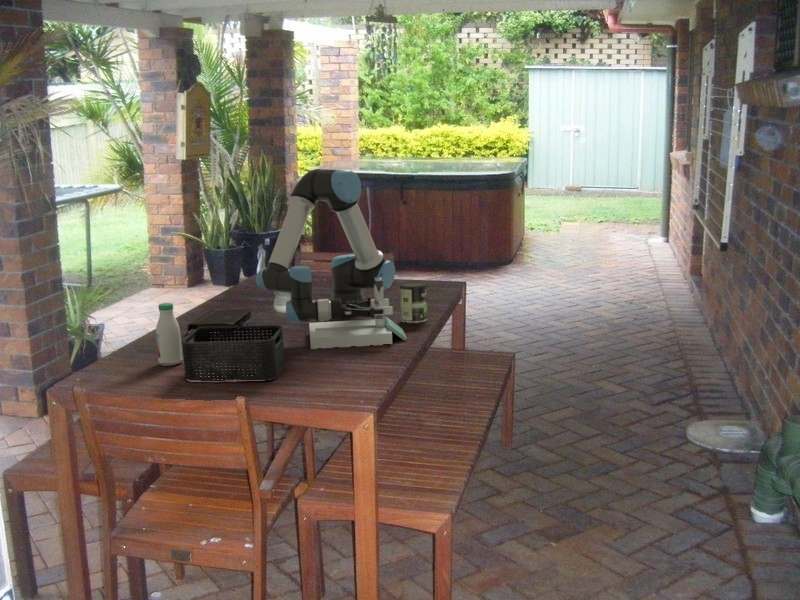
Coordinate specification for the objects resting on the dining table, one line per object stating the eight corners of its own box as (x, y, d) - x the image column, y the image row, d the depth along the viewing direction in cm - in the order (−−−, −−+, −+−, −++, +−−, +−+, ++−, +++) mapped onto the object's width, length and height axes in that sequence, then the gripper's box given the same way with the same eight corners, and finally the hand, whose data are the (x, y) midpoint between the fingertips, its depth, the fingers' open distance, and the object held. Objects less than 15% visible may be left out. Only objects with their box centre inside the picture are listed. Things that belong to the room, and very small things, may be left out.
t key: (374, 331, 328) (373, 277, 324) (383, 330, 329) (382, 277, 324) (376, 336, 321) (374, 281, 317) (385, 335, 322) (383, 280, 318)
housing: (309, 333, 333) (309, 322, 332) (385, 329, 336) (385, 318, 335) (310, 349, 312) (310, 337, 311) (392, 344, 315) (392, 333, 314)
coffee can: (429, 317, 353) (428, 281, 350) (424, 323, 343) (424, 286, 340) (403, 316, 355) (402, 281, 352) (398, 323, 345) (396, 286, 342)
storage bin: (182, 383, 278) (178, 341, 275) (200, 365, 296) (196, 325, 294) (275, 383, 276) (272, 340, 273) (287, 365, 294) (284, 324, 292)
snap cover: (383, 318, 331) (385, 316, 331) (400, 331, 333) (402, 328, 333) (387, 327, 318) (389, 325, 318) (404, 341, 319) (407, 338, 319)
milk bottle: (187, 361, 302) (182, 302, 297) (174, 367, 294) (169, 307, 290) (167, 359, 304) (162, 301, 300) (153, 366, 297) (148, 306, 293)
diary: (187, 336, 338) (186, 323, 337) (211, 320, 362) (210, 308, 361) (235, 336, 335) (234, 322, 334) (256, 320, 359) (255, 307, 358)
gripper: (329, 312, 334) (387, 309, 336) (332, 328, 310) (394, 324, 312) (328, 292, 332) (386, 289, 335) (331, 306, 308) (394, 303, 311)
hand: (390, 306), depth 323 cm, fingers open, 12 cm apart
